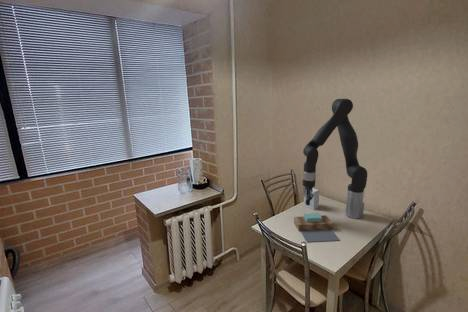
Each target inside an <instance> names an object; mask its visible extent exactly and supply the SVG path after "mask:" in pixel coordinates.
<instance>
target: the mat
mask: <svg viewBox="0 0 468 312" xmlns="http://www.w3.org/2000/svg"><path fill="white" fill-rule="evenodd" d="M300 233H301V235H302V237H303V238H304V240H305V241H306V243H320V242H321V243H324V242H340V241H341V239H340V238H339V236H337V234H336V233H335V232H334V231H333V230H311V231H300Z"/></svg>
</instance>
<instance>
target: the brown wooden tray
mask: <svg viewBox="0 0 468 312" xmlns="http://www.w3.org/2000/svg"><path fill="white" fill-rule="evenodd" d="M320 216H321V217H322V222H306V220H305V219H304V215H303V216H302V215H301V216H293V224H294V226H295V227H296V229H297V231H298V232H301V231H311V230H332V231H333V229H334V223H333V221H332V220H331V219H330V218H329V217H328V216H327V215H326V214H325V215H323V214H322V215H320Z"/></svg>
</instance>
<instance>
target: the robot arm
mask: <svg viewBox="0 0 468 312" xmlns="http://www.w3.org/2000/svg"><path fill="white" fill-rule="evenodd" d="M353 109H354V103H353V101H352V100H351V99H350V98H337V99H335V100H334V101H333V102H332V104H331V111H332V115H331V117H329V119H328V120H327V121H326V122H325V123H324V124H323V125H322V126H320V128H319V129H318V130H317V131H316V133H315V135H314V136H313V138H312V139H311V140H310V141H309V142H307V144H306V145H305V147H304V148H303V151H302V152H303V153H302V154H303V155H304V156H305V157H306V161H305V162H304V163H303V171H302V172H303V173H302V186H303V188H302V189H303V196H305V198H306V205H310V200H312V198H313V196H314V194H312V192H313V189H312V188H314V187H316V179H317V178H316V176H317V174H316V171H317V169H316V167H317V163H318V160H319V150H318V149H319V147H322V146H323V145H324V144H325V143H326V142H327V141H328V139H329V137H330V136H331V135H332V133H333V131H334V130H336V129H337V130H338V131H337V132H338V134H339V140H340V145H341V148H342V152H343V155H344V161H345V162H344V163H345V170H346V174H347V176H348V177H349V178H350V179H351V183H349V184H348V185H347V193H346V205H345V206H346V207H345V215H346V217H347V218H351V219H354V220H355V219H356V220H358V219H361V218H363V217H364V210H365V202H364V196H365V195H364V194H365V189H366V186H367V181H368V171H367V169H366V168H365V167H363V166H362V165H360V163H359V160H358V150H359V141H358V135H357V132H356V130H355V129H354V127H353V126H352V124H351V122H350V119H349V114H351V112H352V111H353Z"/></svg>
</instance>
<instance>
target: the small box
mask: <svg viewBox="0 0 468 312" xmlns="http://www.w3.org/2000/svg"><path fill="white" fill-rule="evenodd" d="M312 189H313V192H312V194H314V196H313V198H312V200H310V205H306V198H305V196H304V195H303V196H304V197H303V207H305V208H307V209H309V210H313V211H314V210H316V209H318V208H319V207H320V206H319V205H320V203H319V202H320V189H317V188H314V187H313V188H312Z"/></svg>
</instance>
